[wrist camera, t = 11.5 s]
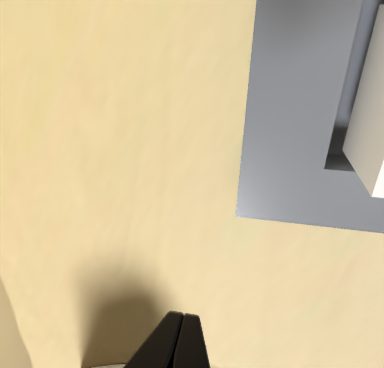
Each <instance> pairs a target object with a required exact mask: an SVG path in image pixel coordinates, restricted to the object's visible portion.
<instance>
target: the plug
mask: <svg viewBox="0 0 384 368" xmlns="http://www.w3.org/2000/svg"><path fill="white" fill-rule="evenodd" d="M342 151H343V152H344V154H345V155H346V157H347V159H348V160H349V162H350V163H351V165H352V167H353V168H354V170H355V171H356V173H357V175H358V176H359V178H360V179H361V181H362V183H363V184H364V186H365V187H366V189H367V191H368V192H369V194H370V195H371V197H378V198H384V4H381V5H379V9H378V13H377V17H376V20H375V24H374V28H373V32H372V36H371V40H370V44H369V48H368V52H367V55H366V59H365V63H364V67H363V71H362V75H361V79H360V83H359V86H358V90H357V94H356V98H355V102H354V106H353V110H352V114H351V118H350V121H349V125H348V129H347V133H346V137H345V141H344V145H343V149H342Z"/></svg>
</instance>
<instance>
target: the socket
mask: <svg viewBox="0 0 384 368" xmlns="http://www.w3.org/2000/svg"><path fill="white" fill-rule="evenodd" d="M381 4H384V0H257V2H256V12H255V22H254V33H253V43H252V53H251V63H250V74H249V84H248V94H247V104H246V114H245V125H244V135H243V145H242V155H241V166H240V176H239V186H238V196H237V207H236V217H244V218H252V219H261V220H270V221H279V222H288V223H297V224H306V225H315V226H324V227H333V228H341V229H350V230H359V231H368V232H377V233H384V198H378V197H371V195H370V194H369V192H368V191H367V189H366V187H365V186H364V184H363V183H362V181H361V179H360V178H359V176H358V175H357V173H356V171H355V170H354V168H353V167H352V165H351V163H350V162H349V160H348V159H347V157H346V155H345V154H344V152H343V151H342V149H343V145H344V141H345V137H346V133H347V129H348V125H349V121H350V118H351V114H352V110H353V106H354V102H355V98H356V94H357V90H358V86H359V83H360V79H361V75H362V71H363V67H364V63H365V59H366V55H367V52H368V48H369V44H370V40H371V36H372V32H373V28H374V24H375V20H376V17H377V13H378V9H379V5H381Z"/></svg>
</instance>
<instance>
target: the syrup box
mask: <svg viewBox="0 0 384 368" xmlns="http://www.w3.org/2000/svg"><path fill="white" fill-rule="evenodd" d="M124 365H125V364H117V365H107V366H99V367H93V368H123V367H124Z"/></svg>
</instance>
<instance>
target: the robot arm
mask: <svg viewBox="0 0 384 368" xmlns="http://www.w3.org/2000/svg"><path fill="white" fill-rule="evenodd" d="M123 368H210V364H209V359H208V355H207V350H206V345H205V341H204V336H203V331H202V327H201V322H200V318H199V316H198V315H194V314H188V313H186V314H185V315H184V314H183V313H182V312H176V311H169V312H168V313H167V314H166V315H165V317H164V318H163V319H162V320H161V322H160V323H159V324H158V325H157V326H156V328H155V329H154V330H153V331H152V333H151V334H150V335H149V336H148V337H147V339H146V340H145V341H144V342H143V343H142V345H141V346H140V347H139V348H138V350H137V351H136V352H135V353H134V354H133V356H132V357H131V358H130V359H129V361H128V362H127V363H126V364H125V365H124V367H123Z"/></svg>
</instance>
